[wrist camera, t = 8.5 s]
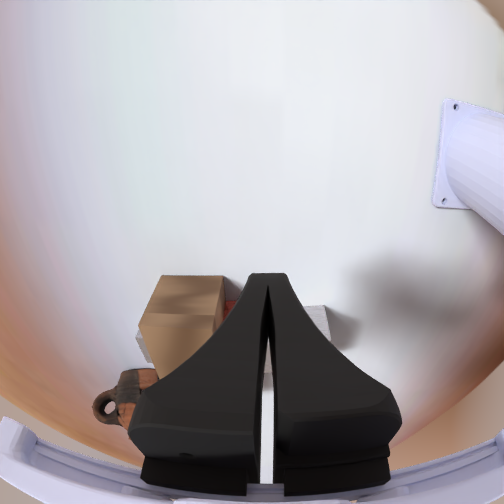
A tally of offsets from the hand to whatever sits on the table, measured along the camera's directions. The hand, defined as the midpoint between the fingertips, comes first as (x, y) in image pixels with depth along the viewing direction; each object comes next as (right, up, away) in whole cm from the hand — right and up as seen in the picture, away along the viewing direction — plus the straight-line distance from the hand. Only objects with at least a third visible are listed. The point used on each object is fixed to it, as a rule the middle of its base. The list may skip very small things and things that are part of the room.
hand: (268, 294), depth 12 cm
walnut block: (-5, -5, +15) cm, 17 cm away
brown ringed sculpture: (-13, -15, +21) cm, 29 cm away
